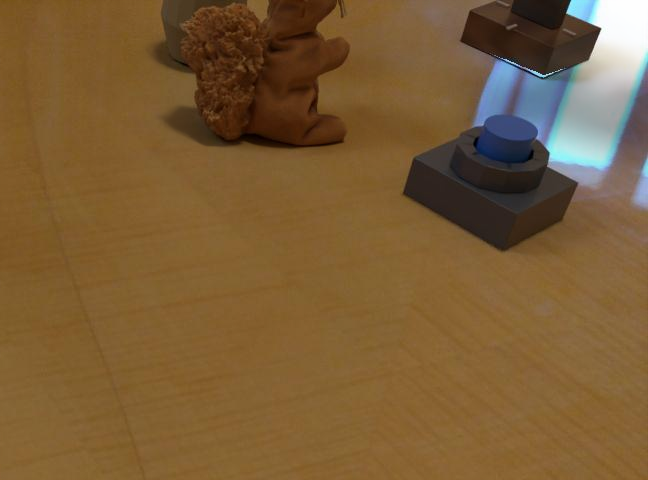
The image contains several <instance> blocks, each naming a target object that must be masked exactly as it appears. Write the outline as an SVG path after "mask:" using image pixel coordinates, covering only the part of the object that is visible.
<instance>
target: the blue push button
mask: <svg viewBox="0 0 648 480" xmlns="http://www.w3.org/2000/svg"><path fill="white" fill-rule="evenodd" d="M482 126H483V128H482V131H481V133H480V136H479V139H478V142H477V145H476V150H477V151H478V152H479V153H480V154H482V155H484V156H486V157H487V158H489V159H491V160H495V161H499V162H504V163H524V162H526V161H527V160H528V158H529V155H530V153H531V150H532V147H533V145H534V142H535V140H536V139H537V137H538V135H539V131H538V128H537V126H536V125H535V124H533V122H531V121H529V120H528V119H525V118H523V117H519V116H516V115H511V114H493V115H490V116H488V117H486V118H485V120H484V122H483V125H482Z"/></svg>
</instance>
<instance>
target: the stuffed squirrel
mask: <svg viewBox="0 0 648 480" xmlns="http://www.w3.org/2000/svg"><path fill="white" fill-rule="evenodd" d="M267 1H268V6H267V9H266V18H265V19H264V20H263V21H262V22H261V21H260V19H259V17H257V15H256V14H255V12H254V11H253V10H250V7H249V6H247V7H246V5H245V4H241V3H238V4H236V3H232V4H231V5H230V6H229V5H228V6H226V7H225V8H220V7H215V6H212V7H209V8H208V7H206V8H203V7H202V8H200V9H199V10H198V11H197V12H195V13H194V15H195V16H196V17H194V18H193V17H191V19H189V21H186V22H185V23H183V24H182V23H179V25H180V27H181V28H182V29H183V31H184V32H185V33H186V34H188V37H184V39H182V42H179V43H180V44H181V45H182V51H181V53H182V55H183V56H182V57H183V59H185V62H186V63H187V64H186V65H187V66H188V67H189V68H191V70H192V72H193V73H194V74H195V81H196V87H197V89H196V90H194V95H193V98H194V103H195V105H196V107H197V111H198V115H199V116H200V117H201V121H203V122H204V125H206V126H207V128H209V129H210V131H211V132H213V133H214V134H215V135H216V136H219V137H221V138H222V139H224V140H225V141H234V140H237V139H239V138H240V137H241V136H242V135H246V134H247V135H251V134H252V135H253V134H255V135H258V136H260V137H263V138H264V139H268V140H271V141H276V142H281V143H284V144H285V143H286V144H291V145H294V146H314V145H324V144H330V143H331V144H332V143H338V142H341V141H343V140H344V139H345V137H346V136H347V133H348V125H346V122H345V121H344V120H343V119H342V118H341V117H340V116H338V115H334V114H328V113H319V112H318V104H319V93H320V88H319V86H320V85H319V80H318V78H319V77H320V76H322V75H324V74H327V73H328V72H332V71H334V70H336V69H338V68H340V67H341V66H342V65H344V63H345V62H346V61H347V59H348V57H349V54H350V49H351V45H350V43H349V42H348V41H347V40H346V39H345V37H343V36H337V37H334V38H331V39H327V40H325V36H324V35H323V34H322V33H321V32H320V31H318V29H317V27H318V25H319V24H320V23H321V22H322V21H323V20H324V19H326V18H327V17H328V16H329V15H330V14H331V13H332V12H333V11H334V10H335V9H336V7H337V6H339V9H340V18H341V19H344V18H345V16H347V15H348V10H347V7H346V3H345V0H267ZM337 4H338V5H337Z"/></svg>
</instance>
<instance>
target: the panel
mask: <svg viewBox="0 0 648 480" xmlns="http://www.w3.org/2000/svg"><path fill="white" fill-rule="evenodd" d="M513 1H514V0H494V1H491V2H488V3H486V4H483V5H479V6H477V7H474V8H471V9H470V10H469V11H468V15H467V17H466V21H465V25H464V27H463V31H462V33H461V37H460V42H462V43H464V44H466V45H468V44H469V45H468V46H471V47H473V46H474V47H473V48H475V47H476V48H475V49H477V48H479V49H480V50H479V49H478V50H479V51H481V50H483V51H486V52H487V53H486V52H485V53H486V54H488V53H491V54H493V55H496V56H498V57H500V58H503V59H507V60H509V61H511V62H514V63H516V64H518V65H520V66H522V67H526V68H528V69H530V70H533V71H536V72H538V73H540V74H542V75H546V74H549V73H552V72H555V71H558V70H560V69H564V68H567V67H569V68H571V67H570V66H572V67H574V66H576V65H578V64H582V63H583V62H586V61H588V60H590V59H591V56H592V54H593V51H594V48H595V46H596V44H597V41H598V38H599V36H600V34H601V31H602V27H600V26H598V25H595V24H593V23H590V22H588V21H586V20H583V19H581V18H578V17H577V16H574V15H571V14H569V13H568V12H567V13H566V15H565V18H564V21H563V23H562V26H559V27H557V28H554V29H551V28H548V27H546V26H544V25H541V24H539V23H537V22H534V21H532V20H530V19H528V18H525V17H523V16H521V15H518V14H516V13H514V12H511V11H510V10H511V7H512V4H513ZM483 51H482V52H483ZM573 65H574V66H573ZM567 69H568V68H567Z"/></svg>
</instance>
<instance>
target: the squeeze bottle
mask: <svg viewBox="0 0 648 480" xmlns="http://www.w3.org/2000/svg"><path fill="white" fill-rule="evenodd" d="M232 3H236V4H238V3H241V4H245V5H246V7H247V8H248V0H162V4H161V10H160V18H161V22H162V26H163V30H164V35H165V40H166V45H167V49H168V53H169V54H170V56H171V57H172V58H173V59H174V60H175V61H177V62H180V63H182V64H184V65H185V64H186V65H188V64H187V63H186V62H185V59H183V57H182V56H183V55H182V53H181V51H182V45H181V44H180V43H179V42H182V39H184V37H188V34H186V33H185V32H184V31H183V29H182V28H181V27H180V25H179V23H182V24H183V23H185V22H186V21H189V19H191V17H193V18H194V17H196V16H195V15H194V13H195V12H197V11H198V10H199V9H200V8H202V7H203V8H206V7H208V8H209V7H212V6H215V7H220V8H225V7H226V6H228V5H229V6H230V5H231V4H232Z"/></svg>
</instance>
